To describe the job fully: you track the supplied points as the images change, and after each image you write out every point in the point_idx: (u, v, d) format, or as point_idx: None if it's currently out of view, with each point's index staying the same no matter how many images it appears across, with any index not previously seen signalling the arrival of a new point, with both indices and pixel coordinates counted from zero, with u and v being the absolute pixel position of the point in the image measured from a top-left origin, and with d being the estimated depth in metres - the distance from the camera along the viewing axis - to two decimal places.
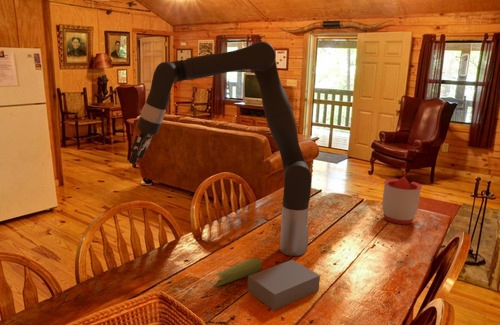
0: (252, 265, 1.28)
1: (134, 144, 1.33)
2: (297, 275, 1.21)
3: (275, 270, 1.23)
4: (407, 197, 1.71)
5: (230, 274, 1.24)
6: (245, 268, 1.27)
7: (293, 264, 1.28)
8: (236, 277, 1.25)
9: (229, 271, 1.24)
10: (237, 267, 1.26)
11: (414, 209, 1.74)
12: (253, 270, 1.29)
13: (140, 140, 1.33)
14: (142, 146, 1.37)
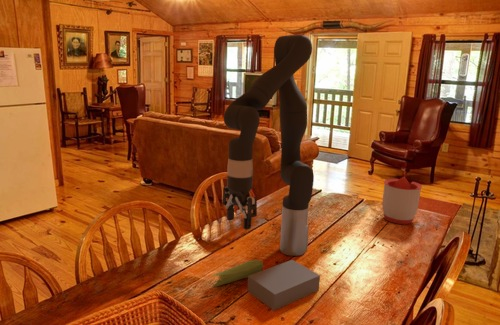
0: (252, 266, 1.28)
1: (251, 208, 1.16)
2: (297, 275, 1.21)
3: (275, 270, 1.23)
4: (407, 197, 1.71)
5: (229, 275, 1.23)
6: (245, 269, 1.26)
7: (293, 264, 1.28)
8: (235, 278, 1.25)
9: (228, 271, 1.24)
10: (237, 268, 1.26)
11: (414, 209, 1.74)
12: (253, 271, 1.28)
13: (255, 200, 1.17)
14: None
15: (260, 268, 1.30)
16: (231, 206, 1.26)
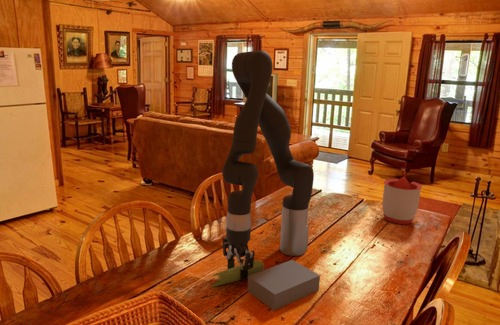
0: None
1: (248, 262, 1.21)
2: (297, 275, 1.21)
3: (275, 270, 1.23)
4: (407, 197, 1.71)
5: (228, 275, 1.23)
6: None
7: (293, 264, 1.28)
8: (235, 278, 1.24)
9: (227, 272, 1.24)
10: (236, 268, 1.25)
11: (414, 209, 1.74)
12: (253, 272, 1.27)
13: (253, 255, 1.21)
14: None
15: (260, 269, 1.29)
16: (231, 257, 1.29)
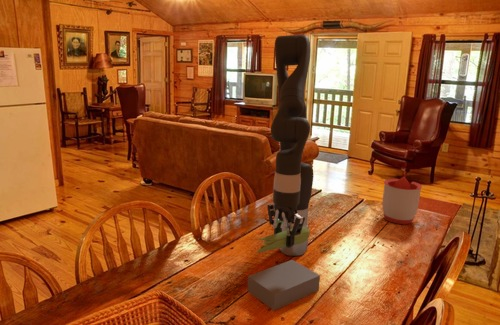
0: None
1: (297, 228, 1.11)
2: (297, 275, 1.21)
3: (275, 270, 1.23)
4: (407, 197, 1.71)
5: (274, 240, 1.14)
6: None
7: (293, 264, 1.28)
8: (281, 244, 1.15)
9: (273, 237, 1.15)
10: (282, 233, 1.16)
11: (414, 209, 1.74)
12: (300, 238, 1.18)
13: (302, 220, 1.11)
14: (294, 223, 1.15)
15: (307, 235, 1.20)
16: (279, 225, 1.19)
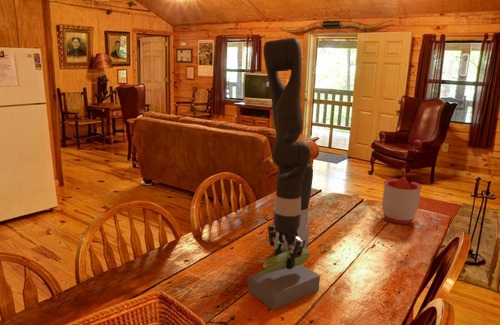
0: None
1: (297, 250, 1.13)
2: (297, 275, 1.21)
3: None
4: (407, 197, 1.71)
5: (275, 262, 1.15)
6: None
7: None
8: (281, 266, 1.17)
9: (274, 259, 1.16)
10: (283, 255, 1.18)
11: (414, 209, 1.74)
12: (300, 260, 1.20)
13: (303, 243, 1.13)
14: (295, 245, 1.17)
15: (307, 257, 1.21)
16: (279, 247, 1.21)
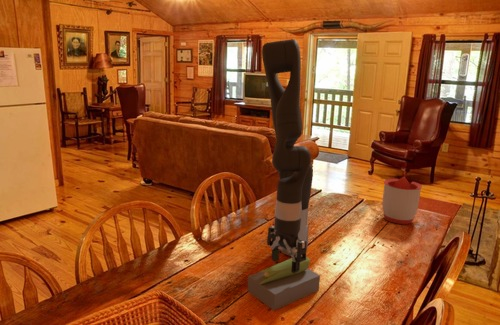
0: (300, 263, 1.20)
1: (301, 252, 1.12)
2: (297, 275, 1.21)
3: None
4: (407, 197, 1.71)
5: (276, 271, 1.16)
6: None
7: None
8: (283, 275, 1.17)
9: (275, 268, 1.16)
10: (284, 264, 1.18)
11: (414, 209, 1.74)
12: (300, 268, 1.20)
13: (305, 244, 1.13)
14: None
15: (307, 265, 1.22)
16: (276, 247, 1.22)
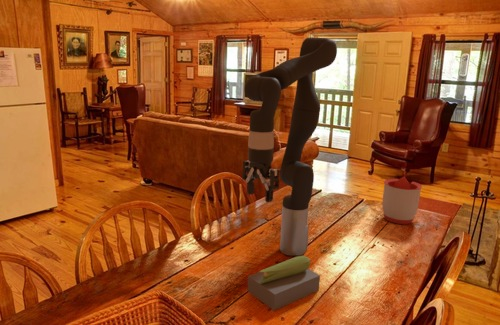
0: (300, 263, 1.20)
1: (273, 180, 1.16)
2: (297, 275, 1.21)
3: None
4: (407, 197, 1.71)
5: (276, 271, 1.16)
6: (292, 266, 1.19)
7: None
8: (282, 275, 1.17)
9: (275, 268, 1.16)
10: (284, 264, 1.18)
11: (414, 209, 1.74)
12: (301, 268, 1.20)
13: (277, 172, 1.16)
14: None
15: (307, 265, 1.22)
16: (251, 180, 1.26)
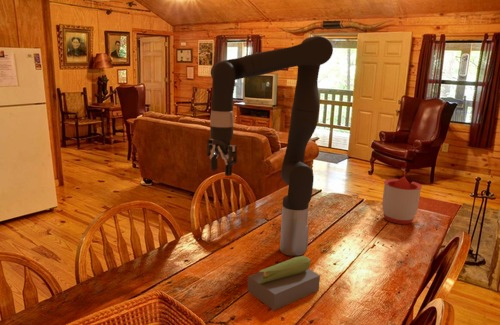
0: (300, 263, 1.20)
1: (231, 155, 1.28)
2: (297, 275, 1.21)
3: None
4: (407, 197, 1.71)
5: (276, 271, 1.16)
6: (292, 266, 1.19)
7: None
8: (282, 275, 1.17)
9: (275, 268, 1.16)
10: (283, 264, 1.18)
11: (414, 209, 1.74)
12: (301, 269, 1.20)
13: (235, 148, 1.28)
14: None
15: (307, 265, 1.22)
16: (214, 157, 1.38)
